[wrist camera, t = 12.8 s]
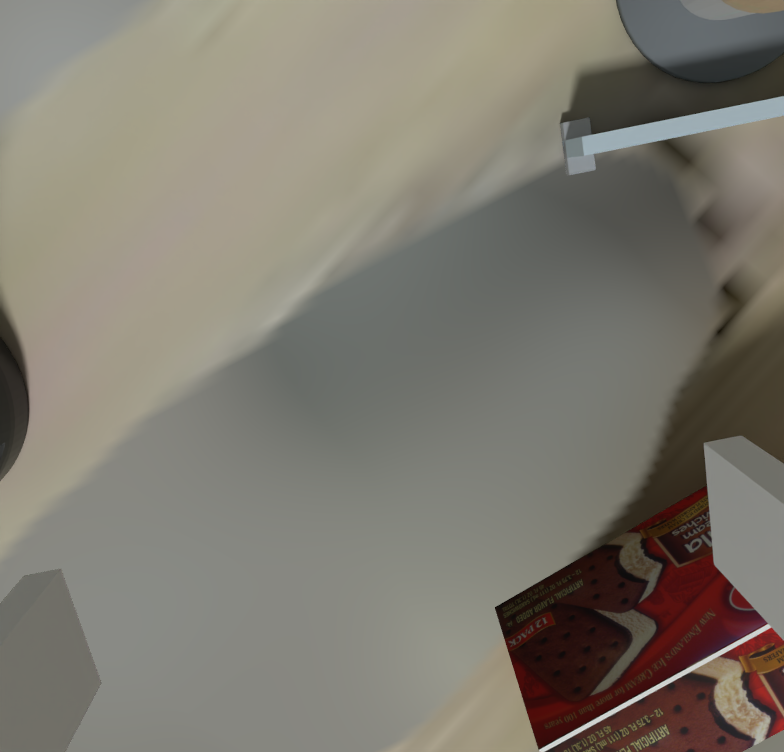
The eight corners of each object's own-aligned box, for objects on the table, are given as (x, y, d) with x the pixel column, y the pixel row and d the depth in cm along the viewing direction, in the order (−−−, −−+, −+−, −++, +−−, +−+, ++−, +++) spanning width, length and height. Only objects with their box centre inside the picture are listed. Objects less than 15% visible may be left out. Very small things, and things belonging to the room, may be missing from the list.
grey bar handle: (566, 175, 44) (586, 174, 40) (560, 123, 43) (579, 117, 39) (829, 122, 43) (874, 116, 40) (827, 69, 43) (873, 58, 39)
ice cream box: (747, 461, 49) (883, 560, 36) (785, 532, 51) (930, 652, 38) (494, 607, 51) (538, 749, 38) (539, 671, 53) (595, 829, 40)
